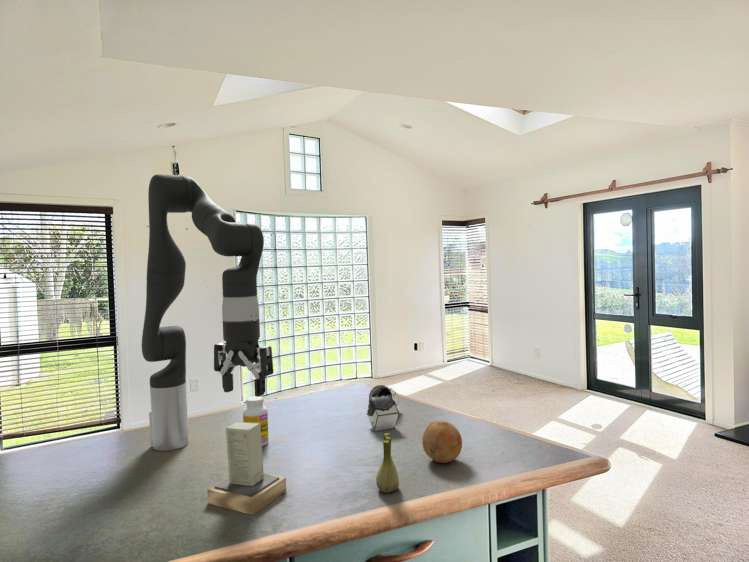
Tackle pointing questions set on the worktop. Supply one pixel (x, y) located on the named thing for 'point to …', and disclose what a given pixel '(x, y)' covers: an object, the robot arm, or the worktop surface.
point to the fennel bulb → (387, 469)
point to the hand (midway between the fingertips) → (243, 393)
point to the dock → (247, 494)
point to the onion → (442, 441)
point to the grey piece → (382, 408)
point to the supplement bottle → (257, 415)
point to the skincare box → (244, 453)
